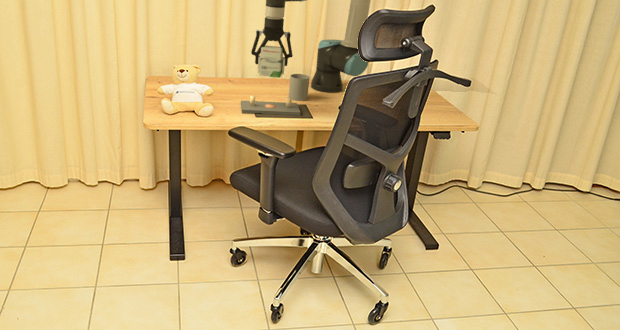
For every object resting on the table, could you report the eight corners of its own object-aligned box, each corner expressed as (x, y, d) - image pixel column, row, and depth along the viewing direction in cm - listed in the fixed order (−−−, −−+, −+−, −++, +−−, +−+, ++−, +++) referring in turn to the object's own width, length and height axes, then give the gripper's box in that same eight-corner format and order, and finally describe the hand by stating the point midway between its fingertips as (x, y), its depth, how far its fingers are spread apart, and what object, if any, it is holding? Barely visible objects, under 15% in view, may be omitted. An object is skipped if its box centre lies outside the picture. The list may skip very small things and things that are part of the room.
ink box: (281, 75, 249) (284, 46, 244) (279, 78, 244) (282, 49, 239) (261, 72, 249) (263, 44, 245) (258, 75, 245) (260, 46, 240)
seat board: (296, 106, 259) (297, 94, 257) (300, 115, 248) (301, 103, 246) (240, 103, 255) (241, 91, 253) (241, 113, 244) (242, 100, 242)
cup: (304, 102, 266) (307, 80, 262) (286, 99, 267) (288, 77, 263) (308, 96, 274) (310, 75, 270) (291, 94, 275) (293, 72, 271)
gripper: (301, 17, 242) (296, 71, 251) (246, 13, 239) (243, 68, 248) (303, 21, 236) (298, 76, 244) (246, 16, 232) (243, 73, 241)
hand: (270, 72), depth 246 cm, fingers closed on ink box, 9 cm apart
